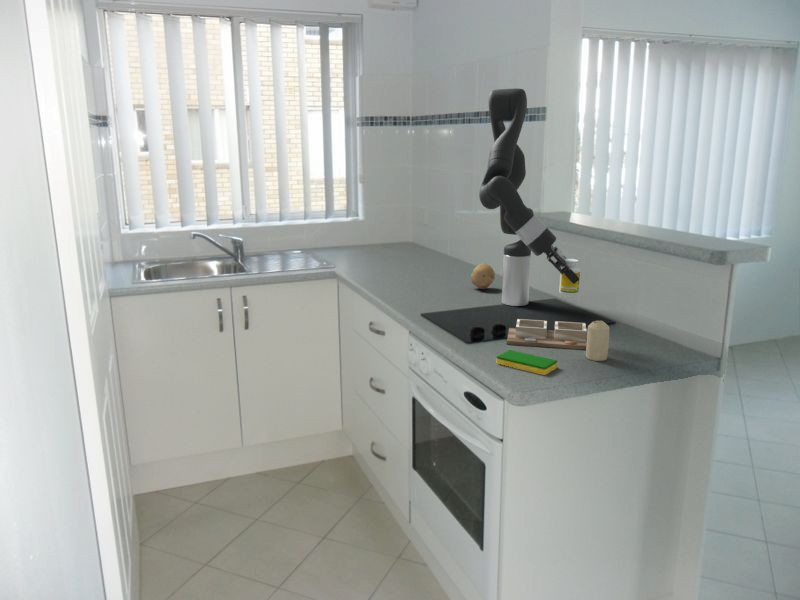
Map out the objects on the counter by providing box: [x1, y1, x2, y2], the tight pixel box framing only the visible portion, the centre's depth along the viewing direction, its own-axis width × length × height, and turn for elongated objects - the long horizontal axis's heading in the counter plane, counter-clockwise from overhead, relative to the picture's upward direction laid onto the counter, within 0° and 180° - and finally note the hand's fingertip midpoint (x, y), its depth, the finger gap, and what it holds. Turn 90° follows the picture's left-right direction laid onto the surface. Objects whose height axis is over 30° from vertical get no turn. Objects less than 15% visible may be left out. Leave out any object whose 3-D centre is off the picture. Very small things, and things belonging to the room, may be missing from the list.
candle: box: [585, 320, 611, 362], centre depth 176 cm, size 6×6×10 cm
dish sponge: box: [495, 349, 558, 376], centre depth 171 cm, size 7×14×2 cm, turn 52°
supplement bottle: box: [558, 258, 581, 296], centre depth 188 cm, size 5×5×10 cm
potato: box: [469, 263, 496, 290], centre depth 251 cm, size 9×9×10 cm
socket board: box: [506, 318, 588, 351], centre depth 191 cm, size 13×24×4 cm, turn 78°
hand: (576, 279), depth 188 cm, fingers closed on supplement bottle, 5 cm apart
